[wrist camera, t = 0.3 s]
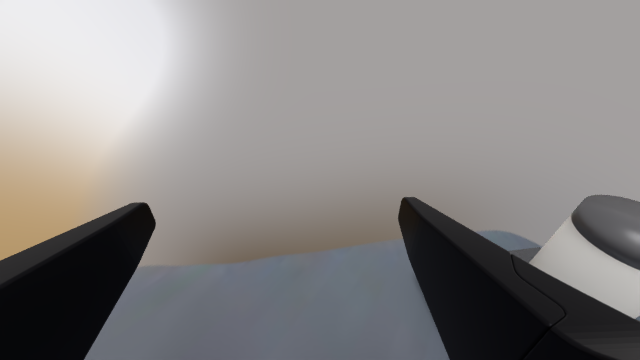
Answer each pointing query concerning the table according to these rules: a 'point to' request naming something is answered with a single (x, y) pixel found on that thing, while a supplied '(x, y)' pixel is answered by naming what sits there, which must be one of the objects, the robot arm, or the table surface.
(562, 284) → the robot arm
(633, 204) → the plug
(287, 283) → the table surface
